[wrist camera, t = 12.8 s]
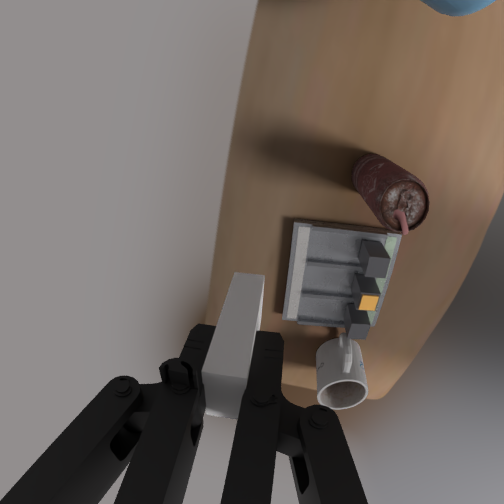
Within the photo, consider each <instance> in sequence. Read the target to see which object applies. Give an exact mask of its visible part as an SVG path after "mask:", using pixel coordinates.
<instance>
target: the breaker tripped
mask: <svg viewBox="0 0 504 504" xmlns="http://www.w3.org/2000/svg"><path fill="white" fill-rule="evenodd" d="M351 292H352V296H353V300H354V304H355V308H356V310H364V311H376V308H377V305H378V302H379V299H380V296H381V293H380V290H379V288H378V285H377V283H376V280H375V278H374V277H365V276H364V275H363V274H355V276H354V280H353V284H352V288H351Z"/></svg>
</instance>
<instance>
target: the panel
mask: <svg viewBox="0 0 504 504" xmlns="http://www.w3.org/2000/svg"><path fill="white" fill-rule="evenodd" d="M401 236H402V234H401V233H400V232H395V231H392V230H389V229H382V228H374V227H366V226H357V225H349V224H340V223H331V222H322V221H313V220H303V219H294V224H293V233H292V242H291V251H290V259H289V268H288V276H287V284H286V292H285V299H284V307H283V315H282V320H292V321H297V324H303V325H315V326H327V327H342V328H345V324H344V319H343V318H344V314H345V311H346V307H347V304H354V300H353V296H352V292H351V288H352V284H353V280H354V276H355V274H363V275H364V273H363V270H362V268H361V265H360V262H359V260H358V258H359V253H360V249H361V244H362V240H364V241H373V242H382V244H383V246H384V247H385V249H386V251H387V253H388V254H389V256H390V258H391V260H390V264H389V268H388V271H387V275H386V278H375V280H376V283H377V285H378V288H379V290H380V293H381V296H380V299H379V302H378V305H377V308H376V311H367V313H368V317H369V320H370V324H371V325H370V326H375V323H376V321H377V318H378V315H379V312H380V309H381V306H382V303H383V300H384V297H385V293H386V290H387V287H388V284H389V280H390V277H391V274H392V270H393V267H394V263H395V259H396V256H397V252H398V248H399V244H400V240H401Z"/></svg>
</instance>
